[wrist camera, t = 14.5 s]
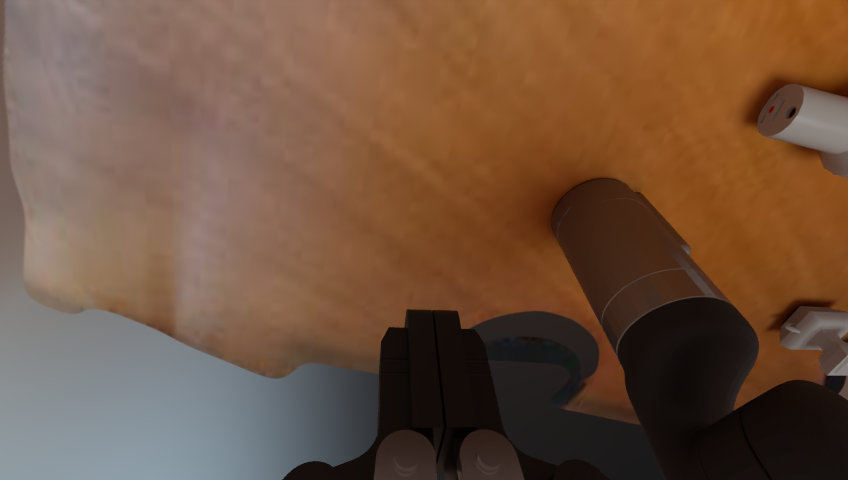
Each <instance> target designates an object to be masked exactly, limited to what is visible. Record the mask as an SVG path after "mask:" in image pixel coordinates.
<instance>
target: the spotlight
mask: <svg viewBox="0 0 848 480" xmlns="http://www.w3.org/2000/svg"><path fill="white" fill-rule="evenodd" d="M757 127H758V131H759V133H760V134H762V135H763V136H765V137H769V138H773V139H777V140H781V141H784V142H788V143H792V144H796V145H800V146H803V147H807V148H811V149H815V150H819V157H820V159H821V162H822V164H823V167H824V168H825V169H827V170H828V171H830V172H831V173H833V174H834V175H838V176H842V177H846V178H848V97H844V96H840V95H837V94H833V93H829V92H825V91H822V90H818V89H814V88H810V87H806V86H803V85H799V84H789V85H785V86H784V87H782V88H780V89H778V90H777V91H776V92H775V93H774V94H773V95H772V96H771V97H770V98H769V100H768V101H767V103H766V104H765V106H764V107H763V108H762V110H761V112H760V114H759V116H758V123H757Z"/></svg>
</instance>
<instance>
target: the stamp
mask: <svg viewBox="0 0 848 480" xmlns="http://www.w3.org/2000/svg"><path fill="white" fill-rule="evenodd" d="M847 332H848V312H846V311H841V310H836V309H831V308H828V307H809V306H800V307H799V308H798V309H797V310H796V311H795V312H794V313H793V314H792V315H791V316H790V317H789V319H788V320H787V321H786V322H785V323H784V324H783V325H782V326H781V332H780V342H779V344H781V345H782V346H783V347H785V348H788V349H804V350H823V352H824V354H822V355H821V356H820V357H819V362H820V363H821V365H820V366H819V367H820V368H821V369H822V370H823V371H824V372H825V374H826V375H848V343H845V342H843V341H842V340H841V339H840V338H841V337H843V336H844V335H845V334H846V333H847Z"/></svg>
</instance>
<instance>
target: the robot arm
mask: <svg viewBox="0 0 848 480" xmlns="http://www.w3.org/2000/svg"><path fill="white" fill-rule="evenodd" d="M552 230H553V233H554V235H555V237H556V239H557V241H558V243H559V245H560V247H561V249H562V250H563V252H564V254H565V257H566V259H567V260H568V262H569V264H570V266H571V268H572V270H573V272H574V274H575V276H576V278H577V280H578V282H579V284H580V286H581V288H582V290H583V292H584V293H585V295H586V297H587V299H588V301H589V303H590V305H591V307H592V309H593V311H594V313H595V315H596V317H597V319H598V321H599V323H600V324H601V326H602V328H603V330H604V332H605V334H606V336H607V338H608V340H609V342H610V344H611V346H612V348H613V349H614V351H615V353H616V355H617V357H618V359H619V361H620V363H621V365H622V367H623V370H624V373H625V385H626V390H627V393H628V396H629V399H630V401H631V403H632V406H633V408H634V410H635V412H636V415H637V417H638V419H639V421H640V424H641V426H642V428H643V431H644V433H645V435H646V437H647V439H648V442H649V444H650V447H651V449H652V452H653V454H654V456H655V459H656V461H657V463H658V466H659V468H660V470H661V473H662V475H663V478H664V480H848V400H846V399H845V398H843V397H842V396H840V395H839V394H837V393H835V392H833V391H832V390H830V389H828V388H826V387H824V386H822V385H819V384H817V383H814V382H810V381H806V380H792V381H787V382H785V383H782V384H780V385H778V386H775V387H774V388H772V389H770V390H768V391H767V392H765V393H763V394H762V395H760V396H758V397H756V398H755V399H753V400H751V401H749V402H748V403H746V404H744V405H743V406H741V407H739V408H738V409H736V410H734V405H735V401H736V398H737V395H738V392H739V390H740V388H741V386H742V384H743V382H744V381H745V379H746V377H747V376H748V374H749V372H750V370H751V369H752V367H753V366H754V363H755V361H756V359H757V356H758V351H759V342H758V338H757V335H756V333H755V331H754V329H753V328H752V327H751V325H750V324H749V323H748V321H747V320H746V319H745V318H744V317H743V316H742V315H741V313H740V312H739V311H738V310H737V309H736V308H735V307H734V306H733V305H732V303H731V302H730V301H729V300H728V299H727V298H726V297H725V295H724V294H723V293H722V292H721V291H720V290H719V289H718V287H717V286H716V285H715V284H714V283H713V282H712V281H711V280H710V279H709V278H708V276H707V275H706V274H705V273H704V272H703V271H702V270H701V268H700V267H699V266H698V265H697V264H696V263H695V262H694V260H693V259H692V258H691V257H690V256H689V254H690V252H691V248H690V246H689V245H688V244H687V243H686V242H685V240H684V239H683V238H682V237H681V236H680V235H679V234H678V233H677V232H676V231H675V229H674V228H673V227H672V226H671V225H670V224H669V223H668V222H667V221H666V220H665V218H664V217H663V216H662V215H661V214H660V213H659V212H658V211H657V210H656V208H655V207H654V206H653V205H652V204H651V203H650V202H649V201H648V200H647V199H646V197H645V196H644V195H643V194H640V193H634V192H633V191H632V190H631V189H630V188H629V187H628V186H627V185H626V184H624V183H622V182H621V181H617V180H614V179H597V180H592V181H589V182H586V183H583V184H581V185H579V186H577V187H576V188H574V189H573V190H571V191H570V192H568V193H567V194H566V195H565V196H564V197H563V198H562V199H561V201H560V202H559V203H558V205H557V206H556V208H555V210H554V212H553V216H552ZM733 410H734V411H733ZM377 431H378V432H377V437H376V440H375V441H374V443H373V445H372V446H371V447H370V448H369V450H368V451H367V452H365V453H364V454H363V455H361V456H360V457H358V458H356V459H354V460H351V461H348V462H346V463H343V464H340V465H338V466H335V467H332V466H331V465H329V464H327V463H324V462H319V461H312V462H307V463H304V464H301V465H299V466H297V467H296V468H294V469H293V470H292V471H291V472H289V473H288V474H287V475H286V477H284V479H283V480H436V478H437V477H436V476H437V474H445V480H609V479H608V478H607V477H606V476H605V475H604V474H603V473H602V472H601V471H600V470H598V469H597V468H596V467H594V466H593V465H591V464H590V463H587V462H585V461H581V460H576V459H573V460H567V461H565V462H563V463H562V464H560V465H559V466H556V465H554V464H551V463H548V462H544V461H542V460H538V459H536V458H533V457H530V456H528V455H526V454H524V453H523V452H521V451H520V450H519V449H517V448H516V447H515V446H514V445H513V444H512V443H511V441H510V440H509V439H508V437H507V435H506V433H505V431H504V429H503V425H502V421H501V416H500V412H499V407H498V403H497V398H496V394H495V389H494V384H493V380H492V377H491V371H490V366H489V363H488V357H487V352H486V348H485V343H484V342H483V341H482V339H481V338H480V336H479V335H478V333H477V332H476V331H475V329H461V325H460V319H459V314H458V311H450V310H432V311H431V310H411V309H407V311H406V318H405V327H404V328H395V327H389V328H388V330H387V332H386V334H385V336H384V337H383V339H382V341H381V352H380V366H379V393H378V429H377Z"/></svg>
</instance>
